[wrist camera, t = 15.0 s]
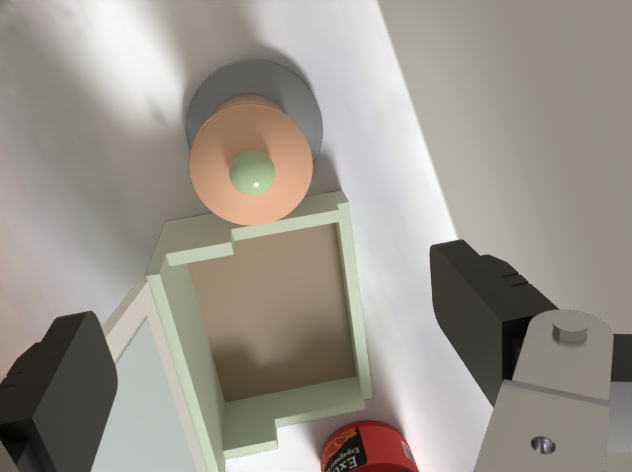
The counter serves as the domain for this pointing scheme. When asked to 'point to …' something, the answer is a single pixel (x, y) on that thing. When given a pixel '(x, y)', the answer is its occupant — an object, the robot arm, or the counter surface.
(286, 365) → the box
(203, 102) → the slate saucer
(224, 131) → the terracotta pot
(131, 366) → the glass lid
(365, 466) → the canned food
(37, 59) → the counter surface
